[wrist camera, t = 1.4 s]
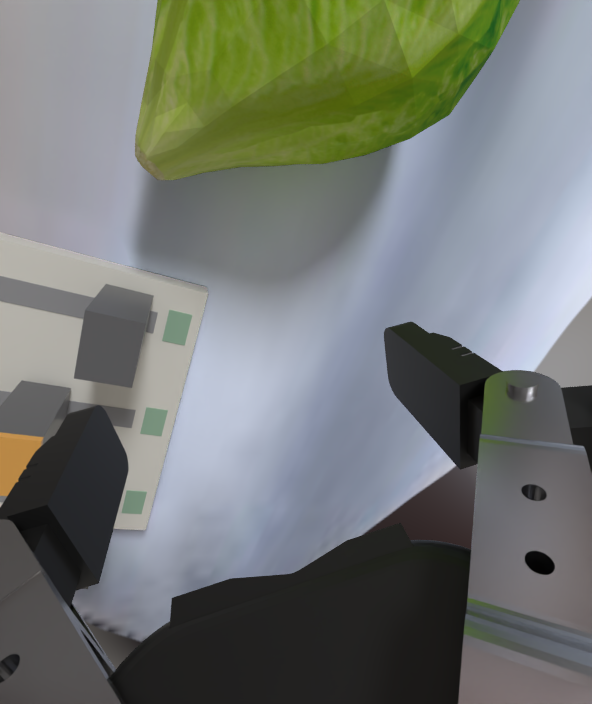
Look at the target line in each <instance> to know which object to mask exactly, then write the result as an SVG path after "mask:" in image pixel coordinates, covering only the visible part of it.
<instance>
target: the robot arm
mask: <svg viewBox="0 0 592 704" xmlns="http://www.w3.org/2000/svg"><path fill="white" fill-rule="evenodd" d="M384 342H385V351H386V361H387V371H388V379H389V383H390V386H391V388H392V391H393V393H394V394H395V396H396V397H397V398H398V399H399V400H400V402H401V403H402V404H403V405H404V406H405V407H406V408H407V409H408V411H409V412H410V413H411V414H412V415H413V416H414V417H415V419H416V420H417V421H418V422H419V423H420V424H421V425H422V427H423V428H424V429H425V430H426V431H427V432H428V433H429V435H430V436H431V437H432V438H433V439H434V440H435V441H436V443H437V444H438V445H439V446H440V447H441V448H442V449H443V451H444V452H445V453H446V454H447V455H448V456H449V457H450V459H451V460H452V461H453V462H454V463H455V464H456V465H457V466H458V468H459V469H463V468H466V467H470V466H473V465H476V464H478V467H477V480H476V494H475V507H474V521H473V533H472V546H471V550H470V549H468V548H465V547H462V546H458V545H454V544H450V543H446V542H439V541H430V540H410V539H409V537H408V535H407V534H406V532H405V530H404V528H403V526H402V525H401V523H399V524H396V525H393V526H390V527H387V528H383V529H381V530H377V531H374V532H371V533H368V534H365V535H362V536H359V537H356V538H353V539H350V540H347V541H345V542H344V543H342V544H341V545H339V546H337V547H336V548H334V549H333V550H331V551H329V552H328V553H326V554H325V555H323V556H321V557H320V558H318V559H316V560H315V561H313V562H312V563H310V564H308V565H307V566H305V567H304V568H302V569H300V570H299V571H297V572H295V573H292V574H286V575H272V576H259V577H246V578H233V579H228V580H225V581H222V582H219V583H216V584H213V585H210V586H207V587H204V588H201V589H198V590H195V591H192V592H189V593H186V594H183V595H180V596H177V597H174V598H172V605H171V617H170V622H168V623H167V624H165V625H163V626H162V627H161V628H159V629H158V630H157V631H155V632H154V633H153V634H151V635H150V636H149V637H148V638H147V639H145V640H144V641H143V642H142V643H141V644H140V645H139V646H138V647H137V648H135V649H134V650H133V652H132V653H131V654H130V655H129V656H128V657H127V658H126V659H125V660H124V661H123V662H122V663H121V664H120V665H119V667H118V668H117V669H115V668H114V666H113V665H112V663H111V661H110V660H109V658H108V657H107V655H106V654H105V652H104V651H103V649H102V648H101V646H100V644H99V643H98V641H97V640H96V638H95V637H94V635H93V634H92V632H91V631H90V629H89V627H88V626H87V624H86V623H85V621H84V620H83V618H82V617H81V615H80V614H79V612H78V610H77V609H76V608H75V606H74V605H73V604H72V600H73V597H74V594H75V591H76V590H79V589H82V588H85V587H88V586H91V585H94V584H98V583H99V581H100V577H101V573H102V569H103V566H104V562H105V558H106V554H107V550H108V547H109V543H110V539H111V535H112V532H113V528H114V524H115V520H116V517H117V513H118V509H119V505H120V502H121V498H122V494H123V490H124V487H125V483H126V479H127V475H128V469H129V466H128V458H127V454H126V451H125V449H124V447H123V445H122V443H121V441H120V439H119V437H118V435H117V433H116V431H115V429H114V427H113V425H112V423H111V421H110V419H109V417H108V415H107V413H106V411H105V410H104V408H103V407H102V406H100V405H97V406H93V407H90V408H86V409H82V410H79V411H75V412H71V413H69V414H67V416H66V417H65V419H64V421H63V422H62V424H61V426H60V428H59V429H58V431H57V433H56V434H55V436H52V437H51V438H50V439H49V440H48V441H46V442H45V443H44V444H43V445H42V446H41V447H40V448H39V449H38V450H37V451H36V452H35V453H34V455H33V456H32V458H31V459H30V461H29V463H28V464H27V466H26V469H25V470H23V472H22V474H21V475H20V477H19V478H18V481H19V482H16V483H15V485H14V486H13V488H12V490H11V491H10V493H9V494H8V496H7V498H6V499H5V501H4V502H3V504H2V505H1V507H0V704H592V386H579V387H566V388H561V387H560V385H559V384H558V383H557V382H556V381H554V380H553V379H551V378H549V377H547V376H545V375H542V374H539V373H536V372H531V371H522V370H511V371H504V372H503V371H501V370H500V369H498V368H497V367H495V366H494V365H492V364H490V363H489V362H487V361H486V360H484V359H483V358H481V357H480V356H478V355H477V354H475V353H473V354H472V351H470V350H469V349H467V348H466V347H462V345H461V344H459V343H458V342H456V341H455V340H453V339H452V338H450V337H447V336H443V335H440V334H436V333H430V334H429V333H428V332H426V331H425V330H424V329H422V328H421V327H419V326H418V325H416V324H415V323H413V322H407V323H404V324H400V325H396V326H392V327H389V328H386V329H385V331H384Z"/></svg>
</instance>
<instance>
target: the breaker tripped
mask: <svg viewBox="0 0 592 704" xmlns="http://www.w3.org/2000/svg"><path fill="white" fill-rule="evenodd" d="M70 391H71V388H68V387H61V386H55V385H48V384H42V383H35V382H29V381H23V380H21V382H20V383H19V384H18V385H17V386H16V388H15V389H14V390H13V391H12V392H11V394H10V395H9V396H8V397H7V399H6V400H5V401H4V402H3V403H2V405H1V406H0V496H8V494H9V493H10V491H11V490H12V488H13V486H14V485H15V483H16V482H19V481H18V478H19V477H20V475H21V474H22V472H23V470H25V469H26V466H27V464H28V463H29V461H30V459H31V458H32V456H33V455H34V453H35V452H36V451H37V450H38V449H39V448H40V447H41V446H42V445H43V444H44V443H45V442H46V441H48V440H49V439H50V438H51V437H52V436H55V434H56V433H57V431H58V429H59V428H60V426H61V424H62V422H63V421H64V419H65V417H66V415H67V409H68V403H69V397H70Z"/></svg>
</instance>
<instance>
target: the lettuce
mask: <svg viewBox="0 0 592 704" xmlns="http://www.w3.org/2000/svg"><path fill="white" fill-rule="evenodd" d="M519 1H520V0H158V2H157V10H156V19H155V28H154V36H153V45H152V52H151V57H150V62H149V67H148V72H147V77H146V82H145V88H144V93H143V98H142V103H141V109H140V114H139V120H138V125H137V130H136V138H135V156H136V158H137V160H138V161H139V163H140V164H141V166H142V167H143V168H144V169H146V170H147V171H148V172H149V173H150V174H151V175H153V176H154V177H155V178H156V179H157V180H177V179H181V178H185V177H189V176H193V175H197V174H201V173H205V172H212V171H218V170H224V169H231V168H237V167H259V166H282V165H293V164H324V163H329V162H334V161H339V160H344V159H348V158H353V157H358V156H363V155H367V154H370V153H372V152H375V151H378V150H380V149H383V148H386V147H389V146H391V145H394V144H397V143H399V142H402V141H405V140H407V139H410V138H412V137H413V136H415V135H417V134H418V133H420V132H422V131H423V130H425V129H427V128H428V127H430V126H432V125H433V124H435V123H436V122H438V121H440V120H441V119H443V118H445V117H446V116H448V115H449V114H450V113H451V112H452V110H453V109H454V107H455V106H456V105H457V103H458V102H459V100H460V99H461V97H462V96H463V95H464V93H465V92H466V90H467V89H468V87H469V86H470V85H471V83H472V82H473V80H474V79H475V78H476V76H477V75H478V73H479V72H480V70H481V69H482V67H483V66H484V64H485V62H486V61H487V59H488V58H489V56H490V55H491V53H492V52H493V50H494V48H495V47H496V45H497V43H498V41H499V39H500V37H501V35H502V33H503V31H504V30H505V28H506V26H507V24H508V22H509V20H510V18H511V16H512V14H513V13H514V11H515V9H516V7H517V5H518V3H519Z"/></svg>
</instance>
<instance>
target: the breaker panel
mask: <svg viewBox="0 0 592 704" xmlns="http://www.w3.org/2000/svg"><path fill="white" fill-rule="evenodd" d="M105 284H109V285H113V286H117V287H121V288H125V289H129V290H133V291H137V292H141V293H146V294H150V295H154V297H153V301H152V306H151V310H150V315H149V319H148V324H147V329H146V333H145V338H144V342H143V347H142V351H141V355H140V359H139V362H138V366H137V370H136V374H135V378H134V382H133V386H132V388H129V387H123V386H117V385H111V384H105V383H98V382H92V381H86V380H80V379H74V373H75V367H76V361H77V355H78V349H79V343H80V337H81V331H82V325H83V319H84V313H85V310H86V308H87V307H88V306H89V304H90V303H91V302H92V301H93V299H94V298H95V297H96V296H97V294H98V293H99V292H100V291H101V289H102V288H103V287H104V285H105ZM207 297H208V290H207V287H204V286H200V285H197V284H193V283H189V282H185V281H182V280H178V279H174V278H170V277H167V276H163V275H159V274H155V273H152V272H148V271H144V270H140V269H137V268H133V267H129V266H125V265H122V264H118V263H114V262H110V261H106V260H103V259H99V258H95V257H91V256H88V255H84V254H80V253H76V252H73V251H69V250H65V249H61V248H58V247H54V246H50V245H46V244H43V243H39V242H35V241H31V240H28V239H24V238H20V237H16V236H13V235H9V234H5V233H1V232H0V406H1V405H2V403H3V402H4V401H5V400H6V399H7V397H8V396H9V395H10V394H11V392H12V391H13V390H14V389H15V388H16V386H17V385H18V384H19V383H20V382H21V380H23V381H29V382H35V383H42V384H48V385H55V386H61V387H68V388H71V391H70V397H69V403H68V409H67V414H69V413H71V412H75V411H79V410H82V409H86V408H90V407H93V406H97V405H100V406H102V407H103V408H104V410H105V411H106V413H107V415H108V417H109V419H110V421H111V423H112V425H113V427H114V429H115V431H116V433H117V435H118V437H119V439H120V441H121V443H122V445H123V447H124V449H125V451H126V454H127V458H128V466H129V469H128V475H127V479H126V483H125V487H124V490H123V494H122V498H121V502H120V505H119V509H118V513H117V517H116V520H115V524H114V528H113V529H129V530H146V527H147V523H148V520H149V516H150V512H151V508H152V505H153V501H154V497H155V493H156V489H157V486H158V482H159V478H160V474H161V471H162V467H163V463H164V459H165V456H166V452H167V448H168V444H169V440H170V437H171V433H172V429H173V425H174V422H175V418H176V414H177V410H178V406H179V403H180V399H181V395H182V391H183V388H184V384H185V380H186V376H187V372H188V369H189V365H190V361H191V357H192V354H193V350H194V346H195V342H196V338H197V335H198V331H199V327H200V323H201V320H202V316H203V312H204V308H205V304H206V301H207ZM66 416H67V415H66ZM6 498H7V496H0V507H1V505H2V504H3V502H4V501H5V499H6Z"/></svg>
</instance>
